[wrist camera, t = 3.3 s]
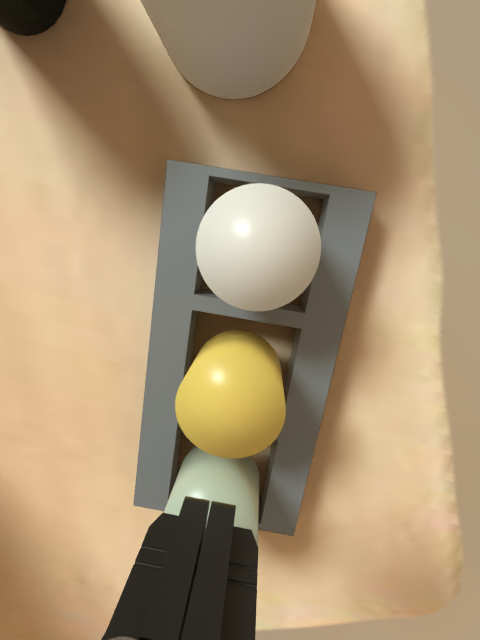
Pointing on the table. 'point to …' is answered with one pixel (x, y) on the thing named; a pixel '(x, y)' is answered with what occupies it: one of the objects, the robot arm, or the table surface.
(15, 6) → the cup
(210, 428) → the mustard button
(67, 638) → the table surface
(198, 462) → the sage button
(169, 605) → the robot arm
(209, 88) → the mug
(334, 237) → the grey compartment tray
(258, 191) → the offwhite button
